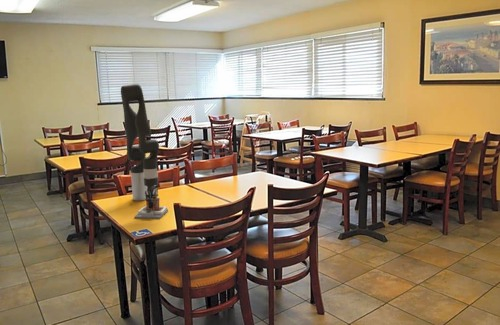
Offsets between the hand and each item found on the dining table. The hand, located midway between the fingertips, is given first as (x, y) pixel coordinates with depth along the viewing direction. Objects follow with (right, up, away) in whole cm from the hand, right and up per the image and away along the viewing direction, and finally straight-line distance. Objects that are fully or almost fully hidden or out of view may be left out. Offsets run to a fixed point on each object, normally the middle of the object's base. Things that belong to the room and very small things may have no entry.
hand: (152, 206), depth 233 cm
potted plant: (0, -3, +1) cm, 3 cm away
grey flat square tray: (0, -4, -2) cm, 5 cm away
